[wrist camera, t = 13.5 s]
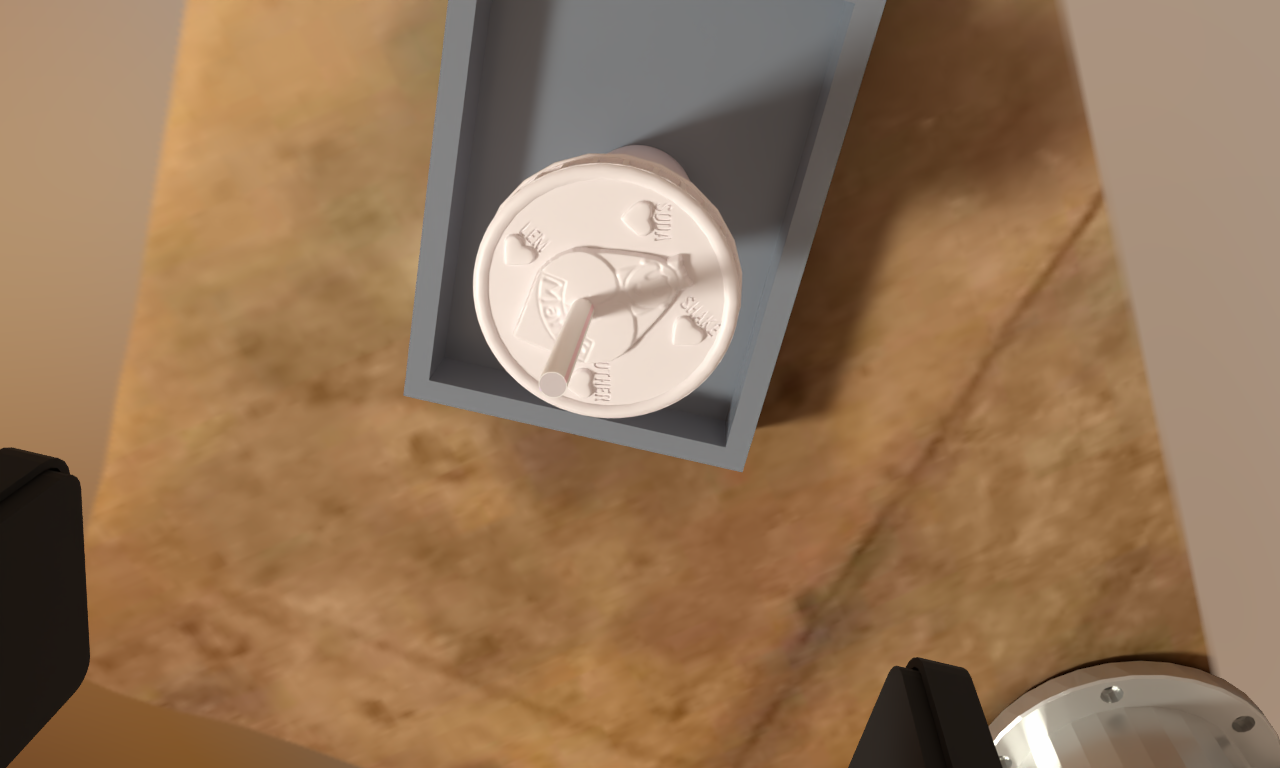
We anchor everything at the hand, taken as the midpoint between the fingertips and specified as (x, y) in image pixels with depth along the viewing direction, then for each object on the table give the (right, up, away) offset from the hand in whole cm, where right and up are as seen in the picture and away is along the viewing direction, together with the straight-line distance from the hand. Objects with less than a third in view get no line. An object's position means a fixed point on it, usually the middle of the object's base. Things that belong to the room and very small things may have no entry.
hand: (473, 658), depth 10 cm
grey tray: (+2, +10, +20) cm, 23 cm away
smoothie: (+2, +9, +20) cm, 22 cm away
